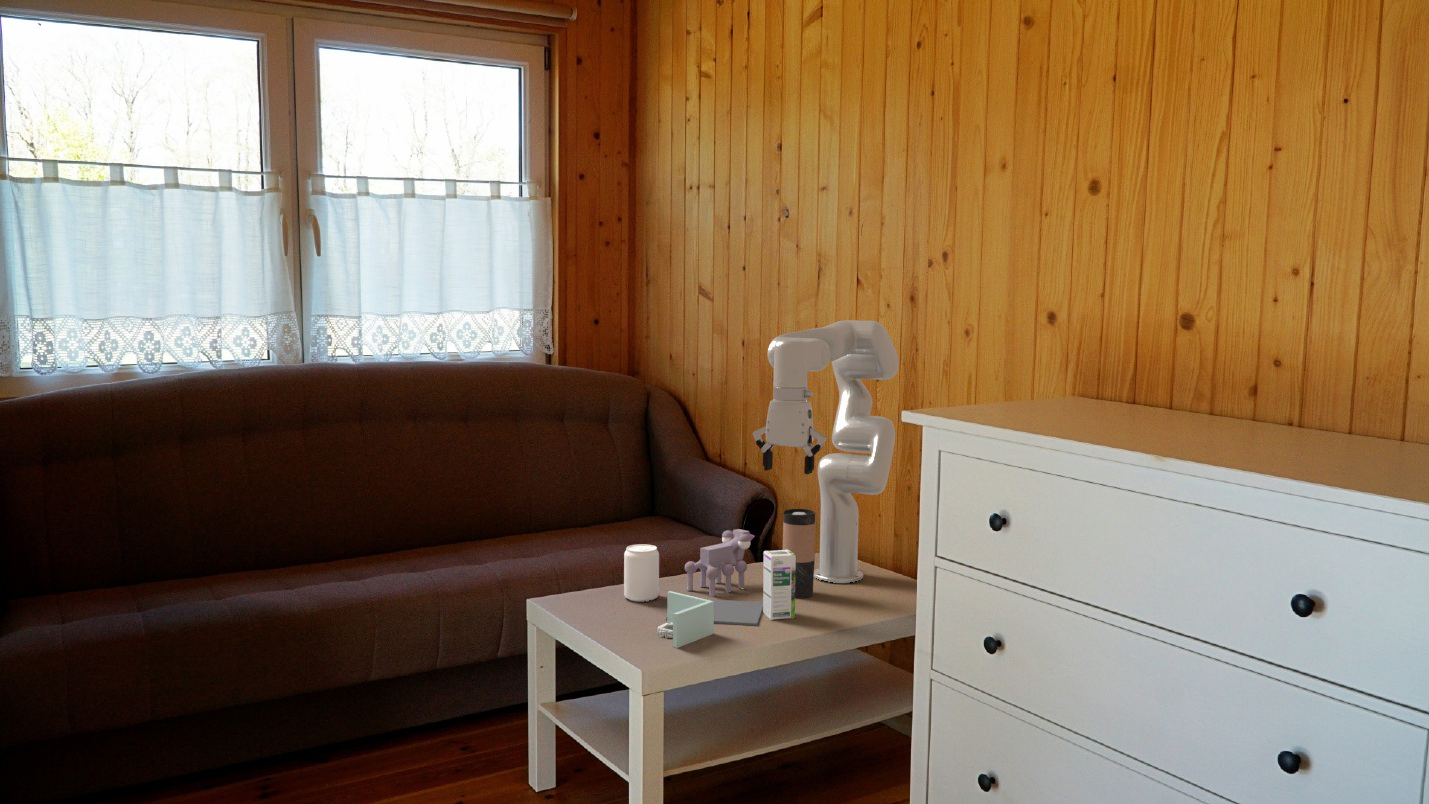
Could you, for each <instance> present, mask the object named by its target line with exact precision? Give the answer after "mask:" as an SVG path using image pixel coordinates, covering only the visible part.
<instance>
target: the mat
mask: <svg viewBox="0 0 1429 804" xmlns="http://www.w3.org/2000/svg"><path fill="white" fill-rule="evenodd" d="M705 599H706V598H705ZM706 600H710V601H714V620H713V624H720V625H721V624H723V625H737V626H738V625H739V626H740V625H742V626H754V627H755V626H758V624H759V620H760V618H761V615H762V612H763V601H745V600H744V601H742V600H729V599H728V600H727V599H726V600H725V599H708V598H707V599H706ZM666 620H667V617H665V621H666Z"/></svg>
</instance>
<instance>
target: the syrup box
mask: <svg viewBox="0 0 1429 804" xmlns="http://www.w3.org/2000/svg"><path fill="white" fill-rule="evenodd" d="M795 567H796V556H795V554H794V553H793V552H791V551H789V550H783V549H781V550H780V549H779V550H764V551H763V570H762V571H763V572H762V573H763V575H762V577H763V588H762V589H763V590H762V591H763V592H762V593H763V594H762V596H763V599H762V602H763V610H762V612H763V614H764V616H765V617H767V618H768V619H769V620H770V621H774V620H785V619H788V620H789V619H795V617H796V598H795V569H796V568H795Z"/></svg>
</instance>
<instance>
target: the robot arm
mask: <svg viewBox="0 0 1429 804" xmlns="http://www.w3.org/2000/svg"><path fill="white" fill-rule="evenodd" d="M766 354H767V360H768V363H769V364H770V366H771V367H772V368H773V388H772V390H773V392H772V399H771V400H770V402H769V405H768V410H767V415H766V425H764V426H763V427H761V428H758V429H757V430H754V431H753V432H752V436H753V439H754V441H755V443H756V446H757V448H759V449H760V452H761V453H762V466H763V469H764V471H770V470H772V469H773V458H774V457H773V456H774V453H773V451H772V449H773V448H774V447H775V446H778V447H780V446H781V447H792V448H802V449H803V451H804V452H805V454H806V455H805V457H804V468H803V469H804V471H803V472H804V474H805V475H810V474H812V473H813V471H814V469H815V456H816V455H817V453H819V451H820V450H822V449H823V446H824V445H825V443H826V441H827V439H828V438H827V436H825V435H824V434H823V433H821V432H819V431H817V430H816V429H814V428H815V427H814V417H813V415H814V414H813V408H812V403H811V401H808V399H809V398H813V397H814V392H813V391H812V390H809V387H808V378H809V377H808V372H820V371H822V370H824V369H826V367H828V365H829V364H830V363H831V366H832V369H833V375H834V378H835V381H836V384H837V389H838V392H839V394H838V397H839V399H838V405H837V409H836V414H835V418H834V422H833V428H832V434H831V442H832V445H833V446H834V448H836V449H837V450H840V451H844V452H849V453H839V452H838V453H837V452H835V453H828V454H826V455H824V456H822V458H821V459H820V460H819V461H818V466H817V479H818V485H819V493H820V523H819V524H820V525H819V526H820V528H819V529H820V530H819V532H820V533H819V567H818V568H816V569H814V579H816V578H817V579H816V580H818V579H819V580H818V581H821V580H824V581H828V582H827V583H830V582H833V583H832V584H851V583H850V582H853V583H856V582H855V581H857V582H859V581H858V580H860V581H862V580H863V579H864V573H863V571H861V570H859V569H858V555H859V553H858V549H859V547H858V546H859V519H860V516H859V507H858V503H857V501H856V500H855V497H854V496H853V495H852V494H862V495H870V496H871V495H872V496H873V495H875V496H876V495H880V494H881V493H883V492H884V491H885V489H886V486H887V483H888V479H889V474H890V469H891V464H892V458H893V455H894V449H895V443H896V429H895V425H894V423H893V421H892V420H891V419H890V418H887V417H886V416H885V417H884V416H879V415H871V412H872V407H873V397H872V395H871V393H870V391H869V389H868V388H867V387H866V386H865V384H864V383H863V382H862V380H876V381H877V380H878V381H886V380H887V381H888V380H891V379H893V378H894V377H895V376H896V375H897V373H898V371H899V366H900V365H899V364H900V363H899V356H898V351H897V349H896V348H895V346H894V343H893V340H892V339H891V337H890V335H889V332H888V331H887V329H886V328H885V327H884V325H883V324H882V323H880V322H878V321H876V320H856V319H850V320H849V319H847V320H846V319H844V320H838V321H836V322H833V323H830V324H828V325H826V326H823V327H817V328H816V327H815V328H810V329H804V330H798V331H792V332H787V333H783V334H780V335H778V336H776V337H775V338H773V339H772V340H771V342H770V343H769V346H768V349H767V353H766ZM763 434H765V440H764V439H762V435H763ZM814 439H816V440H817V442H816V444H815V445H814V446H813V443H814ZM765 441H766V442H765ZM853 453H858V454H853ZM859 453H860V454H859ZM861 453H862V454H870V455H861ZM862 578H863V579H862ZM861 579H862V580H861ZM824 581H823V582H824Z"/></svg>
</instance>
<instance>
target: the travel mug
mask: <svg viewBox="0 0 1429 804" xmlns="http://www.w3.org/2000/svg"><path fill="white" fill-rule="evenodd" d="M782 522H783V523H782V524H783V525H782V528H783V529H782V530H783V531H782V550H789V551H791V552H793V553H794V554H795V556H796V567H795V568H796V569H795V599H807V598H811V597H812V596H813V595H812V594H814V579H815V577H814V570H815V557H816V556H815V553H816V547H815V546H816V544H815V543H816V512H815V510H812V509H805V508H789V509H785V510H784V511H783V521H782Z"/></svg>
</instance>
